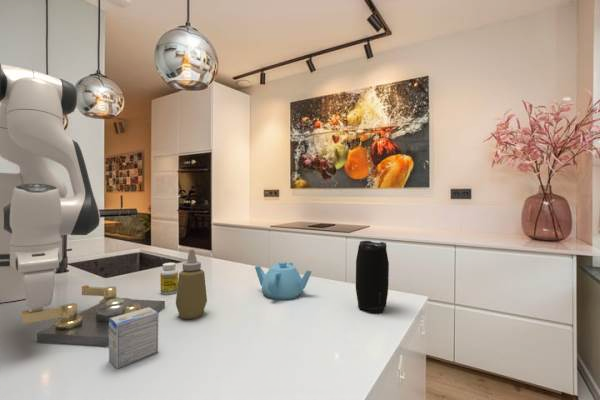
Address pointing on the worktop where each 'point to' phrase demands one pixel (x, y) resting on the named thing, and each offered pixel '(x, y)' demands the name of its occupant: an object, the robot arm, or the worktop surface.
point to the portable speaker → (372, 276)
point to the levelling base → (96, 322)
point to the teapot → (282, 281)
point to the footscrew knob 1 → (55, 316)
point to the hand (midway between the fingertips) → (37, 316)
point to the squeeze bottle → (191, 289)
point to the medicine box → (133, 336)
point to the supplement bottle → (169, 279)
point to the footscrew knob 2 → (100, 292)
